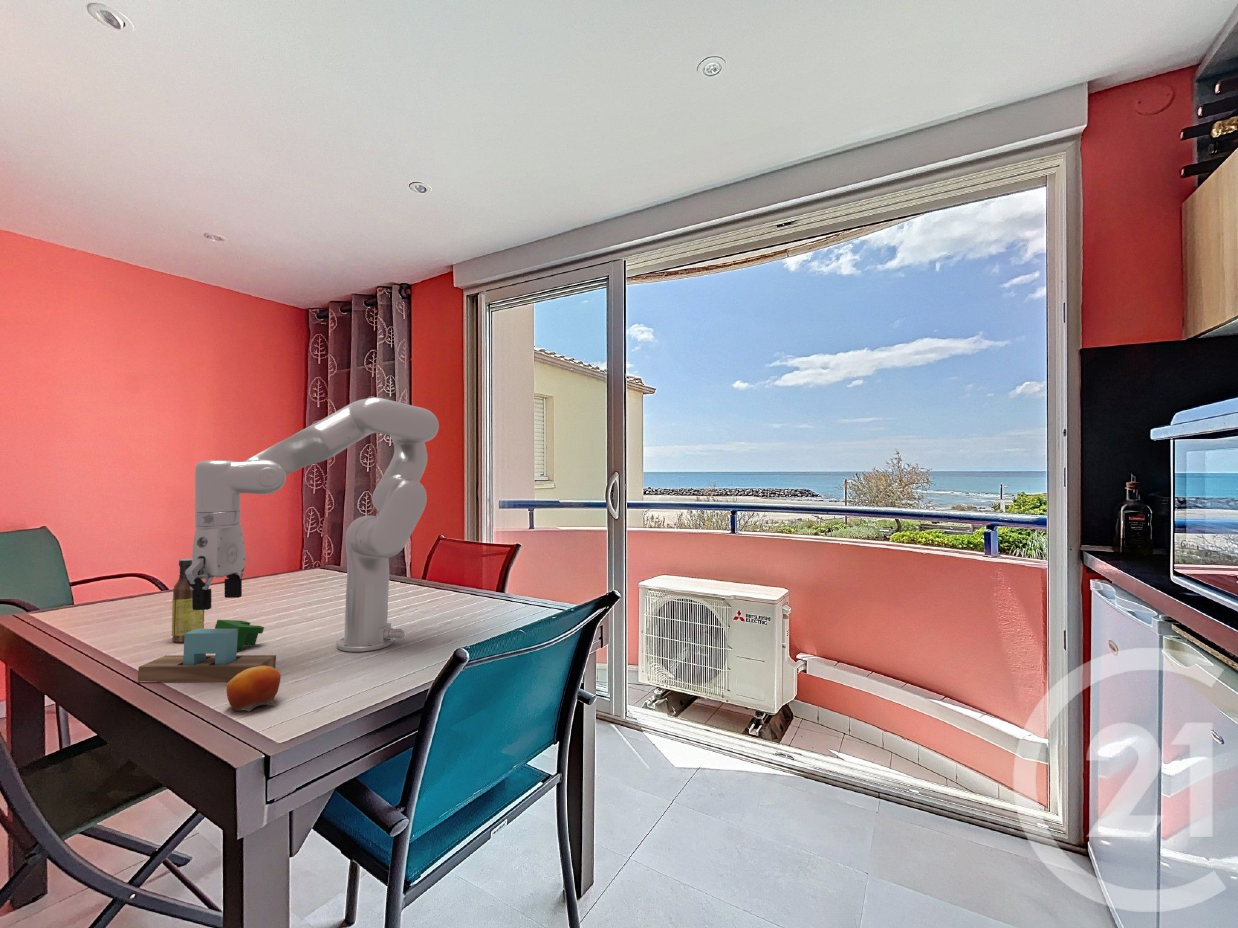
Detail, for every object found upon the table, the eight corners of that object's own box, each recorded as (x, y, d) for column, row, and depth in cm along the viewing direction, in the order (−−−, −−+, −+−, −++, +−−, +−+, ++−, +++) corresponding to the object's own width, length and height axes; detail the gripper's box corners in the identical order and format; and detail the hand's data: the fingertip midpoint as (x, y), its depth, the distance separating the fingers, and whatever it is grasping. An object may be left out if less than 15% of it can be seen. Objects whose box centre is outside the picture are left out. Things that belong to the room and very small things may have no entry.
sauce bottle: (209, 638, 135) (213, 558, 136) (182, 644, 129) (186, 561, 130) (191, 635, 137) (195, 556, 138) (163, 641, 131) (168, 559, 132)
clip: (194, 672, 111) (196, 628, 112) (235, 672, 112) (237, 628, 112) (182, 678, 108) (184, 633, 108) (224, 678, 109) (227, 633, 109)
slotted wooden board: (164, 669, 112) (165, 655, 113) (275, 669, 114) (276, 655, 114) (137, 682, 106) (138, 666, 106) (256, 681, 107) (256, 666, 107)
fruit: (244, 713, 90) (235, 666, 92) (224, 727, 93) (216, 682, 96) (295, 697, 97) (284, 654, 99) (274, 711, 100) (265, 669, 103)
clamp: (250, 665, 129) (269, 631, 129) (223, 665, 124) (242, 631, 124) (234, 636, 136) (252, 605, 136) (208, 636, 131) (226, 603, 131)
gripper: (209, 524, 103) (209, 614, 103) (261, 516, 120) (261, 592, 120) (167, 524, 102) (167, 615, 102) (225, 516, 119) (225, 593, 119)
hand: (218, 603), depth 111 cm, fingers open, 9 cm apart
